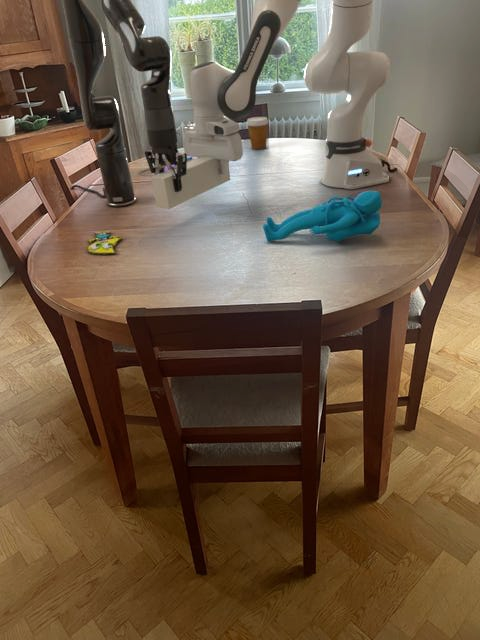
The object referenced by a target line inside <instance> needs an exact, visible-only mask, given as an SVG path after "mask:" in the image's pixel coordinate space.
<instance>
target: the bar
mask: <svg viewBox="0 0 480 640" xmlns="http://www.w3.org/2000/svg"><path fill="white" fill-rule="evenodd" d="M222 165H223V163H221V160H218V159H216V158H214V157H205V156H202V157H199V158H198V157H196V158H194V159H192V160H189V161H187V170H186V175H184V176H181V182H182V190H181V191H179V192H175V191H174V184H173V179H174V178H173V177H172V174H171V172H170V171H169V170H167V171H164V172H162V173H159V174H157V175H156V174H154V175H151V176H150V179H151V184H152V190H153V196H154V201H155V206H156V207H158V208H163V209H166V210H170V209H172V208H174V207H177V206H178V205H181V204H183V203H185V202H187V201H189V200H191V199H193V198H196V197H198V196H199V195H201V194H204V193H206V192H208V191H211V190H212V189H214V188H216V187H218V186H221V185H223V184H225V183H226V182H229V181H231V174H230V162H229V163H228V166H227V173H226V174H225V175H222V174H220V173H219V172H220V171H219V169H220V168H222ZM174 170H175V169H174ZM175 173H177V172H176V170H175Z"/></svg>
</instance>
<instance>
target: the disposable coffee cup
mask: <svg viewBox="0 0 480 640" xmlns="http://www.w3.org/2000/svg"><path fill="white" fill-rule="evenodd" d="M268 124H269V120H268V117H266V116H255V117H254V116H253V117H250V118H247V120H246V125H247V129H248V135H249V140H250V146H251V149H252V150H262V149H266V148H267V137H268V135H267V134H268Z"/></svg>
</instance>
